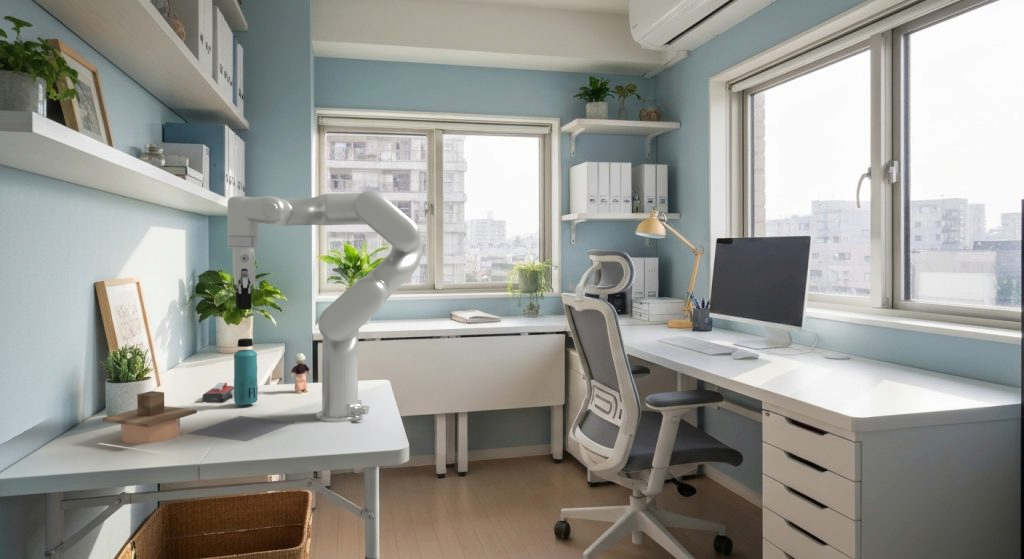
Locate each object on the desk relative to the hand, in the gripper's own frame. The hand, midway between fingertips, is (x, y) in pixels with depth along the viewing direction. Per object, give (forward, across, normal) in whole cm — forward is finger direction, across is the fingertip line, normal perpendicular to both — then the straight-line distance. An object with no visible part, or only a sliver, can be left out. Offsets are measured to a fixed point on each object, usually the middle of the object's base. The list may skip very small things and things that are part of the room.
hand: (243, 307), depth 170 cm
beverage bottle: (+31, +16, -1) cm, 34 cm away
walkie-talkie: (+31, +33, +3) cm, 45 cm away
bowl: (+30, -8, +21) cm, 38 cm away
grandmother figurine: (+31, +30, -18) cm, 46 cm away
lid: (+25, -8, +21) cm, 34 cm away
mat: (+30, -9, +1) cm, 32 cm away
